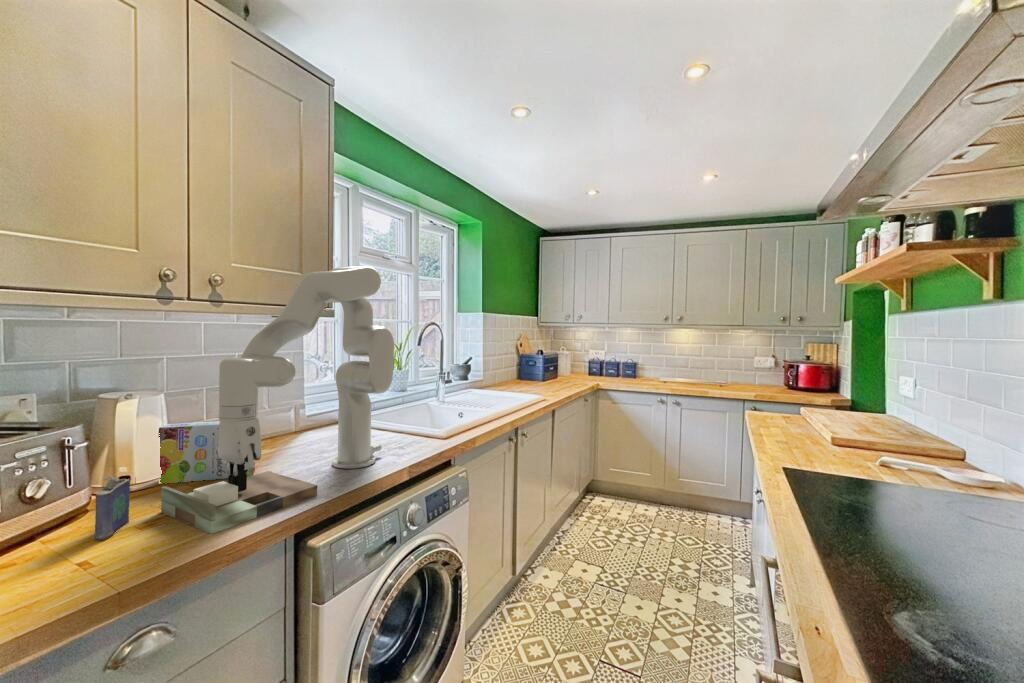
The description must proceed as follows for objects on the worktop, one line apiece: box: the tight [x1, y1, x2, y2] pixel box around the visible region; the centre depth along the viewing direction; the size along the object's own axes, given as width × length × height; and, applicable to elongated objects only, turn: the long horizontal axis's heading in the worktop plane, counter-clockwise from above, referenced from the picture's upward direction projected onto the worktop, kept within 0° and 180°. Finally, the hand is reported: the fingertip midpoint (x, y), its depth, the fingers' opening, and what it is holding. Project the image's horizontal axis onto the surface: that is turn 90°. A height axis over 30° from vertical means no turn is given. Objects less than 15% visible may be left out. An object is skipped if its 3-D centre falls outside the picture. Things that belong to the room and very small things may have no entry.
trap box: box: [160, 470, 318, 535], centre depth 99 cm, size 24×20×6 cm
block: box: [193, 480, 238, 506], centre depth 94 cm, size 6×6×3 cm
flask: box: [94, 476, 131, 542], centre depth 85 cm, size 9×3×11 cm, turn 20°
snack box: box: [158, 420, 256, 485], centre depth 116 cm, size 21×6×15 cm, turn 111°
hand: (237, 490), depth 98 cm, fingers closed
